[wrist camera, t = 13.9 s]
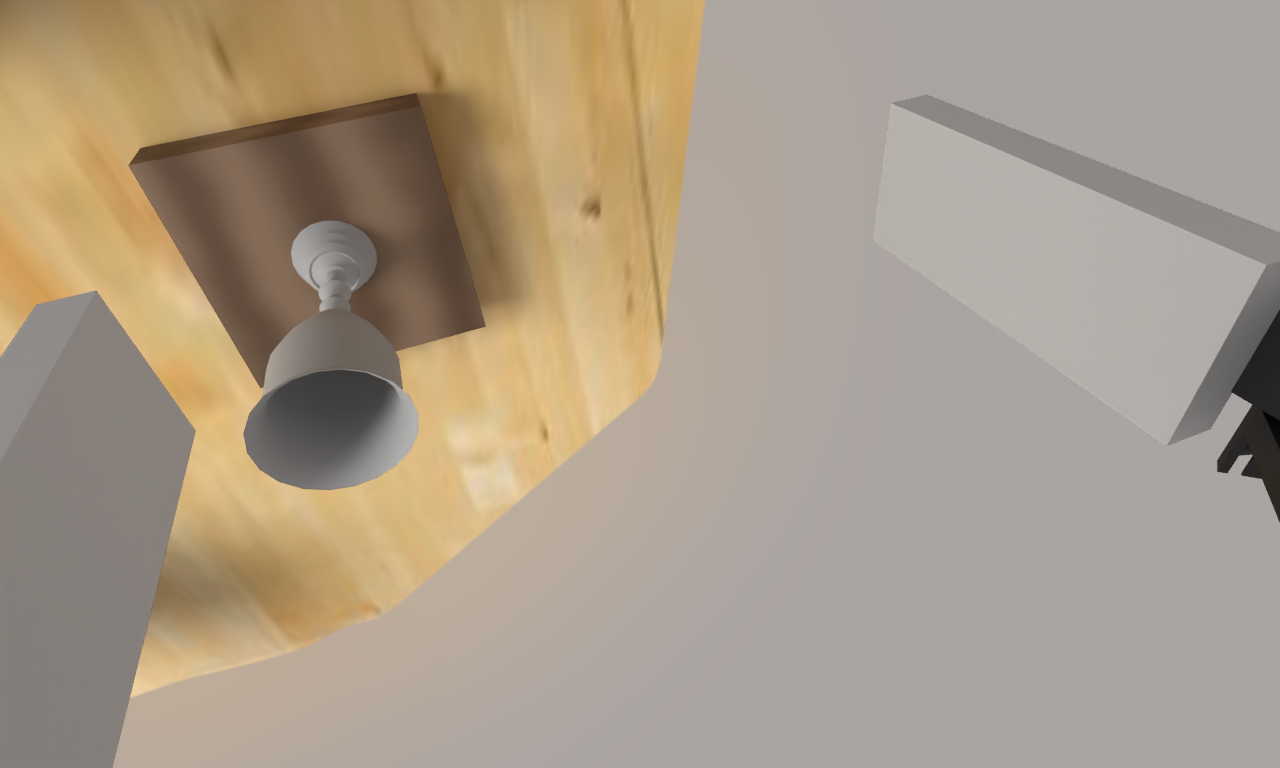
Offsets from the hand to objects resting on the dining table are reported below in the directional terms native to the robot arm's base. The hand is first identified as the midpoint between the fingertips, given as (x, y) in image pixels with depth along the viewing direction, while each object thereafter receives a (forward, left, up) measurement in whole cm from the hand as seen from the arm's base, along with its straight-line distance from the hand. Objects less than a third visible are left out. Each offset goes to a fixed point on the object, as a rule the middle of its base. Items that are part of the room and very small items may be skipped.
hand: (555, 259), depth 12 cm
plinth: (-9, -14, -37) cm, 40 cm away
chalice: (-9, -14, -34) cm, 38 cm away
